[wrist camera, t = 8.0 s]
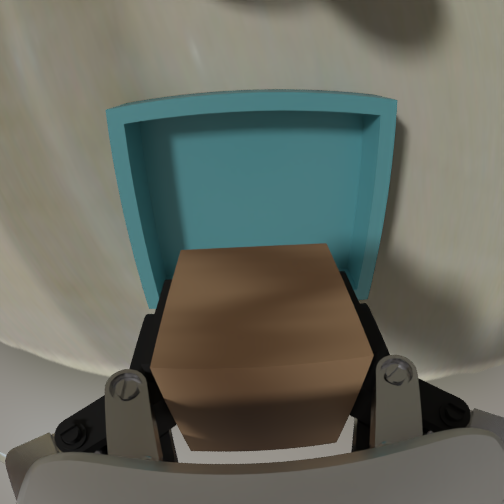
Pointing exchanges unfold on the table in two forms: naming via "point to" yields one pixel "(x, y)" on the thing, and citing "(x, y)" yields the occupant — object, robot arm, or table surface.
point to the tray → (254, 175)
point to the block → (259, 348)
